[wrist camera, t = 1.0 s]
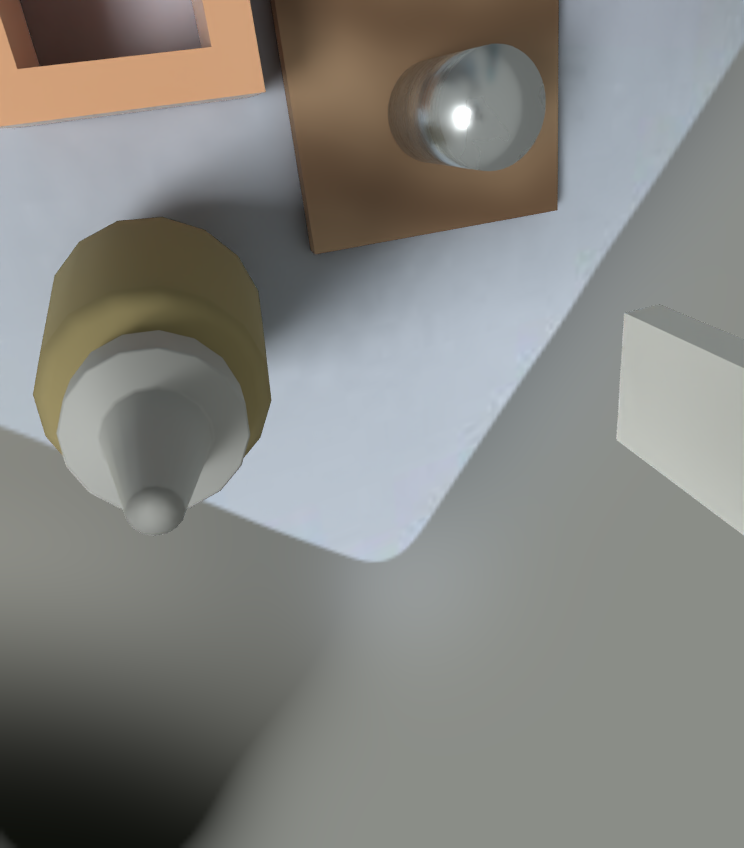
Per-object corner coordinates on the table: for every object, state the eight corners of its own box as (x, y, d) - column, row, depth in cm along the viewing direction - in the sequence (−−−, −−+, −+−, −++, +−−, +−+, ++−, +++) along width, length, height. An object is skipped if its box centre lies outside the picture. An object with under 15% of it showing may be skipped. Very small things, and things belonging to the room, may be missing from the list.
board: (223, -290, 22) (225, -307, 21) (546, -294, 24) (560, -310, 23) (310, 250, 30) (315, 254, 29) (546, 207, 32) (557, 209, 31)
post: (383, 65, 27) (435, 50, 21) (472, 53, 27) (545, 37, 22) (393, 169, 28) (444, 179, 23) (477, 155, 29) (545, 162, 24)
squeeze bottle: (258, 216, 29) (372, 329, 13) (247, 389, 32) (327, 648, 16) (56, 194, 26) (-108, 299, 10) (65, 383, 29) (-52, 685, 14)
